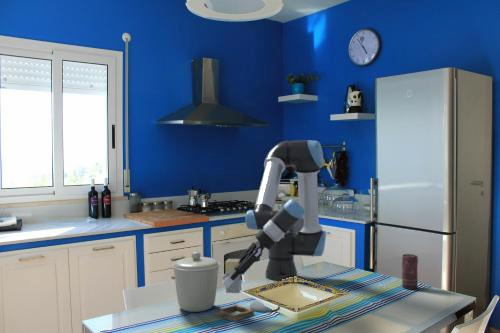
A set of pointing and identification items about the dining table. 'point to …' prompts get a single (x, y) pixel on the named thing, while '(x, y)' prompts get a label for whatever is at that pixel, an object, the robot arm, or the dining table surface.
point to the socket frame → (225, 314)
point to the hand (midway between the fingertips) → (224, 282)
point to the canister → (196, 282)
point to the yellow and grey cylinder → (229, 267)
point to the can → (409, 271)
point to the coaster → (259, 307)
